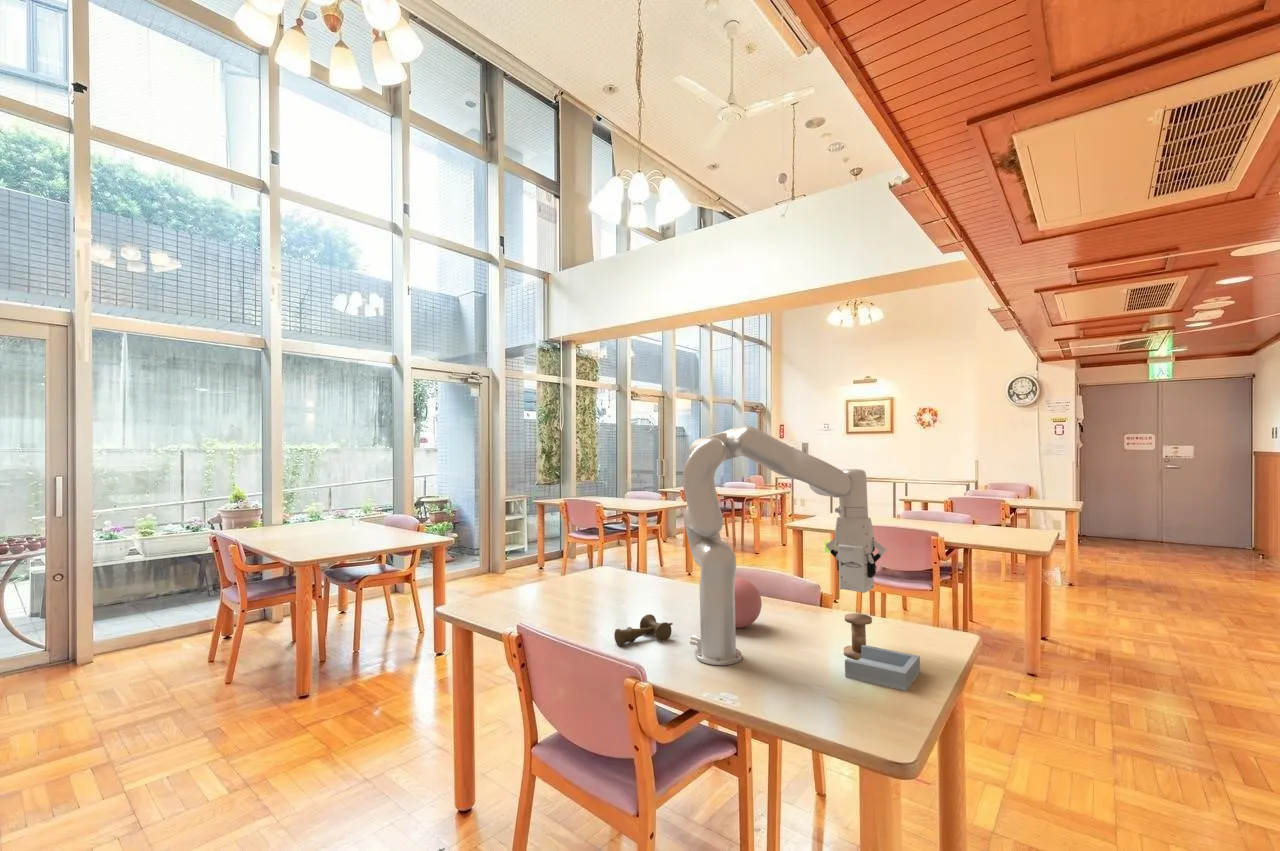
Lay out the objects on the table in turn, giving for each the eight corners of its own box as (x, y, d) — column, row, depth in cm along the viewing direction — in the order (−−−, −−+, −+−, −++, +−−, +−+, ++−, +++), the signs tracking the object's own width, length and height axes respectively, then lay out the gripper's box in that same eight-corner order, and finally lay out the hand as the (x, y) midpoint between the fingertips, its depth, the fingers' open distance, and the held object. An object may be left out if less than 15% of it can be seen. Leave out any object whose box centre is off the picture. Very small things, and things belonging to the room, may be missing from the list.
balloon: (727, 613, 196) (726, 568, 197) (772, 628, 180) (771, 578, 180) (693, 622, 187) (692, 575, 188) (737, 638, 171) (736, 586, 171)
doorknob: (839, 656, 155) (838, 618, 155) (849, 647, 161) (848, 611, 162) (869, 662, 150) (868, 623, 150) (878, 653, 156) (877, 616, 157)
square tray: (845, 676, 141) (844, 660, 141) (863, 659, 152) (862, 644, 152) (905, 691, 132) (905, 673, 132) (920, 672, 143) (919, 655, 143)
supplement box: (838, 589, 161) (836, 544, 162) (849, 584, 167) (847, 541, 167) (864, 593, 156) (862, 547, 157) (875, 588, 162) (873, 543, 162)
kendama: (609, 643, 170) (663, 628, 181) (626, 653, 162) (682, 637, 173) (608, 623, 170) (663, 610, 181) (625, 632, 162) (681, 618, 173)
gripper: (818, 512, 165) (821, 574, 164) (881, 515, 154) (884, 581, 153) (828, 509, 171) (831, 569, 170) (889, 512, 160) (892, 576, 159)
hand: (856, 574), depth 162 cm, fingers closed on supplement box, 7 cm apart
